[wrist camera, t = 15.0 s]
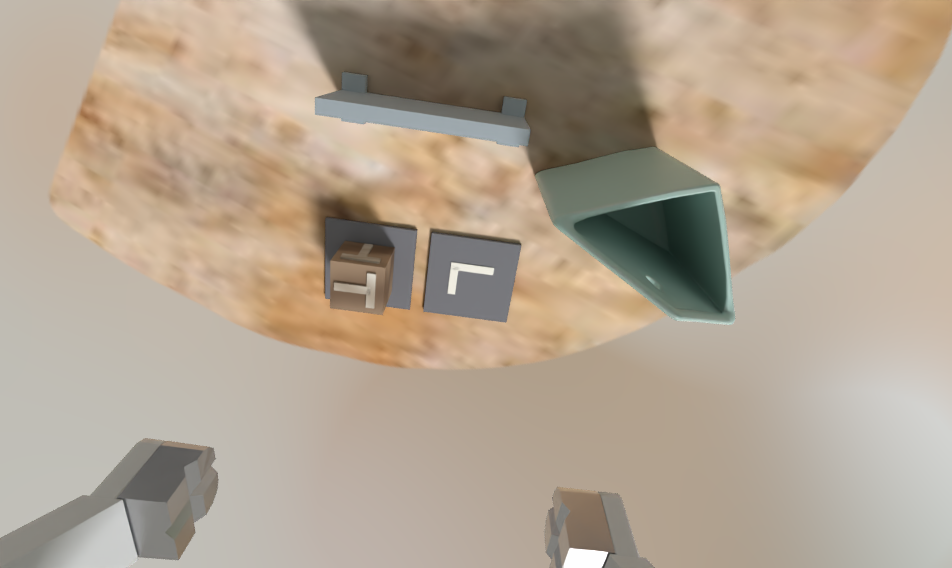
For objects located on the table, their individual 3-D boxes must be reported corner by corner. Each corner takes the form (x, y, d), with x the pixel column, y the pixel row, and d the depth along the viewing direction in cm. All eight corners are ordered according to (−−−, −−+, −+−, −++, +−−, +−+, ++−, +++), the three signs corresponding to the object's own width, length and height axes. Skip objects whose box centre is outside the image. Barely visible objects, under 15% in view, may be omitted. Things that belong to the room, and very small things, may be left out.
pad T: (326, 217, 48) (325, 218, 47) (417, 229, 48) (416, 231, 48) (326, 296, 52) (324, 298, 51) (410, 307, 52) (409, 310, 51)
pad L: (432, 231, 48) (431, 233, 48) (521, 244, 48) (521, 246, 48) (423, 309, 52) (423, 311, 52) (506, 320, 52) (506, 322, 52)
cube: (345, 238, 48) (329, 259, 43) (395, 245, 48) (385, 266, 44) (344, 284, 50) (329, 309, 46) (391, 291, 50) (382, 316, 46)
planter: (724, 190, 46) (874, 281, 28) (669, 257, 49) (774, 376, 31) (581, 99, 42) (649, 136, 25) (533, 177, 45) (562, 260, 28)
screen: (344, 71, 42) (314, 76, 35) (526, 99, 42) (534, 110, 35) (343, 119, 43) (315, 133, 36) (518, 145, 44) (524, 164, 37)
